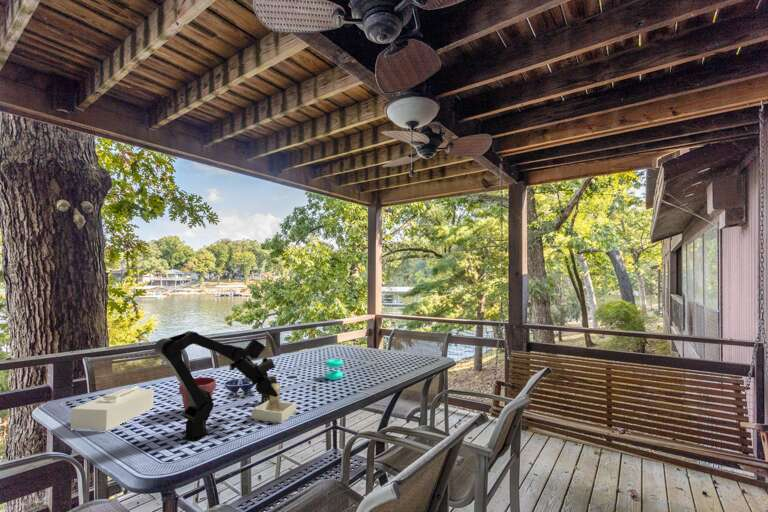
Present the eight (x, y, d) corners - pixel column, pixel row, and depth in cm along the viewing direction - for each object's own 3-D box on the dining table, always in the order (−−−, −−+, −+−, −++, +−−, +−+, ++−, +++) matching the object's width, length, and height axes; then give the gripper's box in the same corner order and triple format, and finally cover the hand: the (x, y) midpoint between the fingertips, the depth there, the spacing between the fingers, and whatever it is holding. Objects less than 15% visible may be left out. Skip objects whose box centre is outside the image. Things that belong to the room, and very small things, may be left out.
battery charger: (261, 404, 169) (261, 378, 169) (260, 401, 172) (261, 376, 173) (277, 402, 172) (277, 377, 172) (276, 399, 175) (276, 375, 176)
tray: (281, 423, 147) (281, 412, 147) (251, 419, 151) (251, 409, 151) (295, 412, 158) (296, 403, 158) (267, 409, 162) (267, 400, 162)
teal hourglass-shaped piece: (343, 362, 208) (325, 362, 207) (343, 380, 207) (325, 380, 206) (343, 358, 218) (326, 358, 217) (343, 375, 217) (326, 376, 216)
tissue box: (70, 432, 139) (71, 402, 140) (122, 408, 164) (123, 383, 165) (105, 433, 138) (107, 403, 139) (153, 409, 163) (154, 384, 164)
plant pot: (200, 419, 151) (201, 387, 152) (170, 416, 154) (171, 385, 155) (222, 406, 165) (222, 377, 166) (194, 404, 168) (194, 376, 169)
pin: (276, 415, 152) (277, 386, 153) (267, 415, 153) (268, 385, 154) (280, 412, 156) (281, 383, 157) (272, 411, 157) (272, 382, 157)
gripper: (266, 357, 145) (294, 383, 149) (260, 349, 162) (285, 372, 166) (244, 380, 142) (273, 405, 146) (240, 369, 158) (267, 392, 162)
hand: (275, 392), depth 155 cm, fingers open, 9 cm apart
